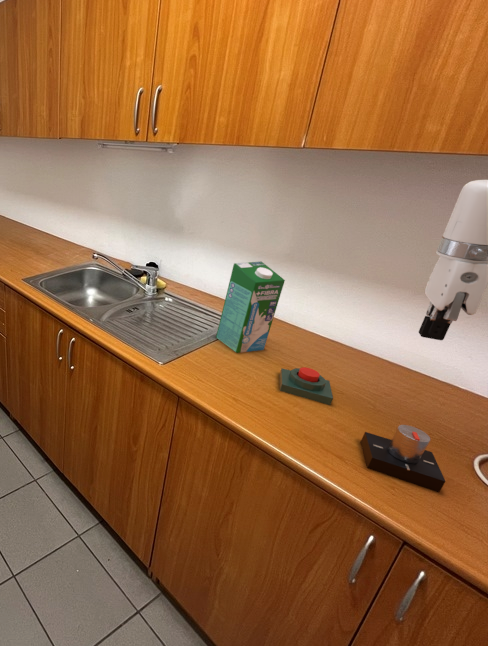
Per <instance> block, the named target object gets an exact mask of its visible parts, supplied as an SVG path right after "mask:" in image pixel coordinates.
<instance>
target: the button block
mask: <svg viewBox="0 0 488 646" xmlns="http://www.w3.org/2000/svg"><path fill="white" fill-rule="evenodd" d="M300 368H301V367H298V368H297V367H295V368H293V369H291V370H290V369H286V368H282V367H281V369H280V372H279V375H278V377H279V392H283V393H287V394H290V395H293V396H295V397H300V398H302V399H303V398H304V399H307V400H310V401H314V402H317V403H321V404H324V405H328V406H331V405H332V403H333V400H334V396H333V391H332V387H331V382H330V381H331V380H328V379H325V378H324V377H323V376H322V375H321V374H320V376H319V379H318V381H317V382H309V381H306V380H304V379H302V378H300V377H299V376H298V373H299V370H300Z"/></svg>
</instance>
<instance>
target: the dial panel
mask: <svg viewBox="0 0 488 646" xmlns="http://www.w3.org/2000/svg"><path fill="white" fill-rule="evenodd" d="M391 440H392V438H391V439H390V438H387V437H384V436H380V435H377V434H375V433H370V432H368V431H365V432H364V433H363V436H362V437H361V440H360V442H359V443H360V447H361V451H362V454H363V458H364V463H365V465H366V468H367V469H369V470H371V471H374V472H377V473H379V474H383V475H386V476H389V477H392V478H395V479H398V480H401V481H404V482H407V483H410V484H413V485H416V486H419V487H422V488H424V489H426V490H430V491H433V492H436V493H440V491H441V490H442V488H443V486H444V485H445V483H446V479H445V477H444V475H443V473H442V469H441V468H440V466H439V464H438V462H437V460H436V458H435V455H434V453H433V451H430V450H427V449H425V451H424V453H423V454H422V456H421V458H420V460H419V462H418V463H415V464H412V463H407V462H404V461H401V460H399V459H397V458H396V457H394V456H393V455H391V454H390V453H389V451H388V449H387V448H388V446H389V444H390V442H391Z"/></svg>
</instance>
